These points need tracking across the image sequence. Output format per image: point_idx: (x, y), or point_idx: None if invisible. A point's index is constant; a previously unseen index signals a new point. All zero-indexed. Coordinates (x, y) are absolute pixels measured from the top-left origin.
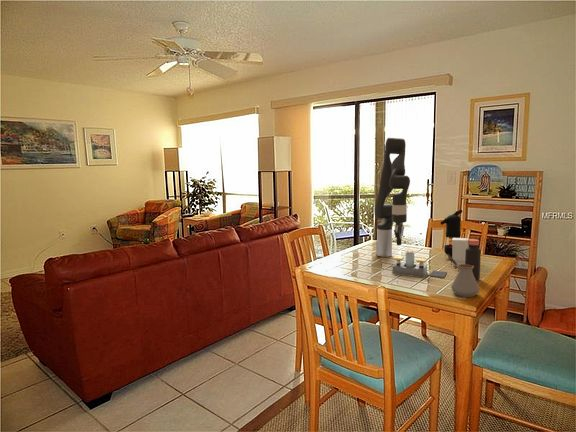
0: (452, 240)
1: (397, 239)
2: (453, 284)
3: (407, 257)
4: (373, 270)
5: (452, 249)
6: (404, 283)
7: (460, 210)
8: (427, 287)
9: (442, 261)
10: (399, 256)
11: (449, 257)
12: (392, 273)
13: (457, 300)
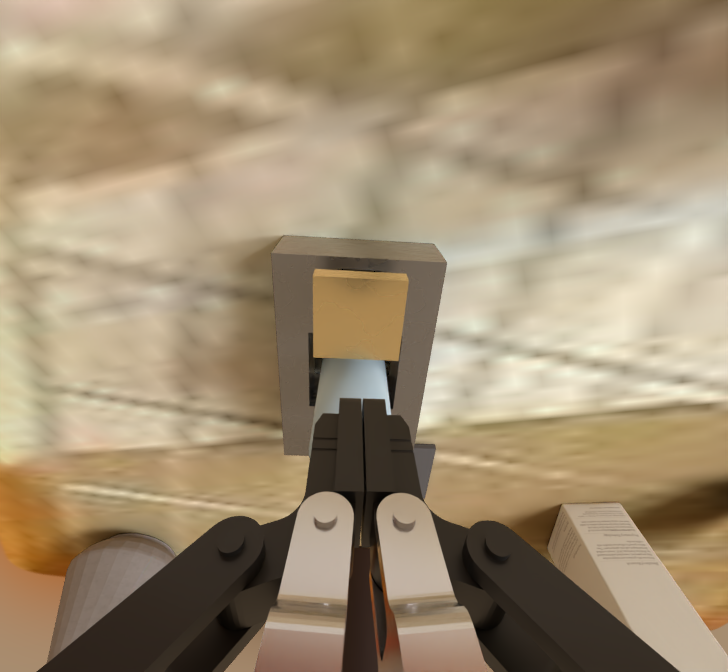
0: None
1: (308, 490)
2: (81, 572)
3: (315, 411)
4: (306, 24)
5: (619, 609)
6: (105, 350)
7: None
8: (124, 451)
9: (673, 463)
10: (396, 323)
11: None
12: (283, 237)
13: (44, 541)
